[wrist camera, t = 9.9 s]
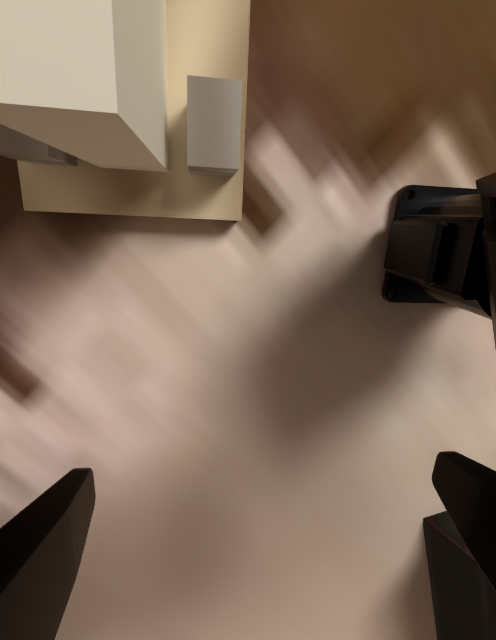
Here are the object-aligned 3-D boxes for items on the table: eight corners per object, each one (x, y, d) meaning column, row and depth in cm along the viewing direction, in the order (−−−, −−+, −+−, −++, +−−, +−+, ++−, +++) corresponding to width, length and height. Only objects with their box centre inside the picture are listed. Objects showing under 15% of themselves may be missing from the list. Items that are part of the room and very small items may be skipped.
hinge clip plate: (254, -197, 14) (277, -383, 9) (238, 220, 18) (249, 222, 14) (-20, -255, 12) (-139, -502, 8) (38, 210, 17) (-16, 210, 13)
